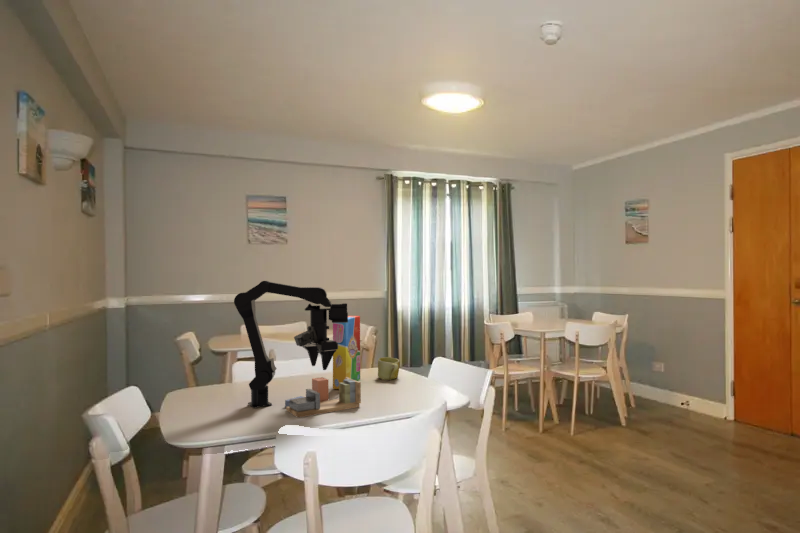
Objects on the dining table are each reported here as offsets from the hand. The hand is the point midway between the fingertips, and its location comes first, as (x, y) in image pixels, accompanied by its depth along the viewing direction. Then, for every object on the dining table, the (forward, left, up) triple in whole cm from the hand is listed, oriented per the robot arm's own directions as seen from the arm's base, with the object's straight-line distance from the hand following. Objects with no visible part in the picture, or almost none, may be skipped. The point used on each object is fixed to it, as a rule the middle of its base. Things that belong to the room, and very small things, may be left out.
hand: (318, 367), depth 176 cm
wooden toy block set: (+8, -2, -12) cm, 15 cm away
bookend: (+8, -9, -11) cm, 16 cm away
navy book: (-1, -8, -12) cm, 14 cm away
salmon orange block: (-1, +1, -12) cm, 12 cm away
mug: (-20, +42, -12) cm, 48 cm away
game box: (-21, +22, -12) cm, 33 cm away
